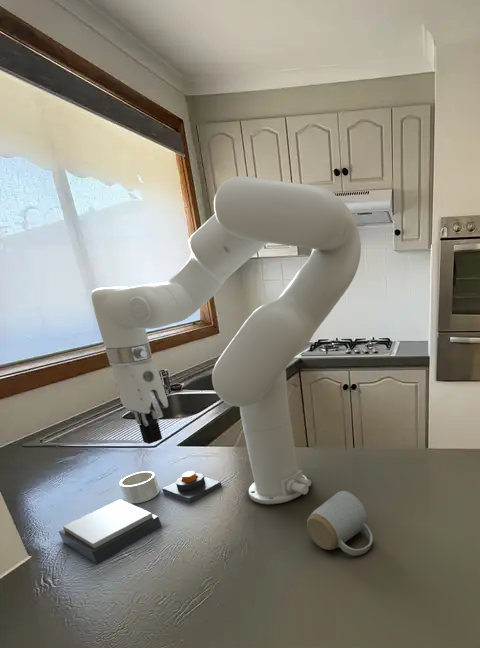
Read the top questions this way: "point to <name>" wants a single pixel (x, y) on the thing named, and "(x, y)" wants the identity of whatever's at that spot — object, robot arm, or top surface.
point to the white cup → (139, 487)
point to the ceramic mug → (339, 523)
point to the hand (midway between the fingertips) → (153, 440)
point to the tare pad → (192, 488)
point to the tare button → (189, 476)
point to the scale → (109, 530)
